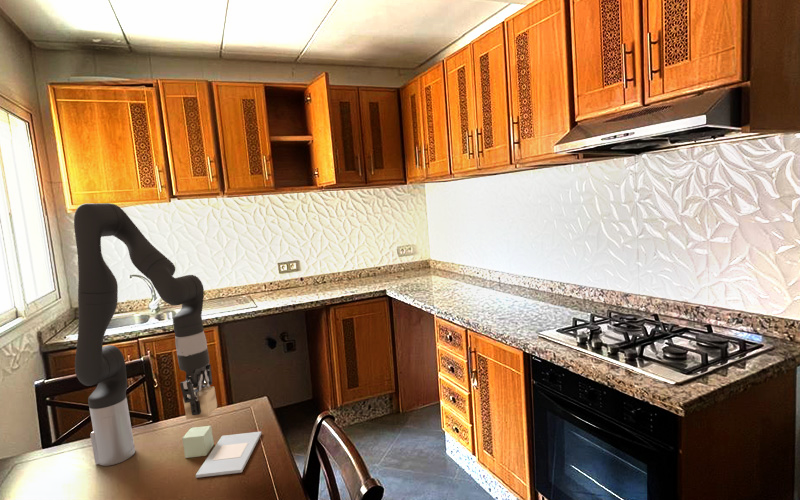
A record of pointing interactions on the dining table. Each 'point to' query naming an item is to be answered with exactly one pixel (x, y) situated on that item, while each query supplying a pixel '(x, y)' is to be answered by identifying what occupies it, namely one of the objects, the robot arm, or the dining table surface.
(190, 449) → the sage block
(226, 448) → the white rectangular board
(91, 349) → the robot arm
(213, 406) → the maple block
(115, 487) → the dining table surface
